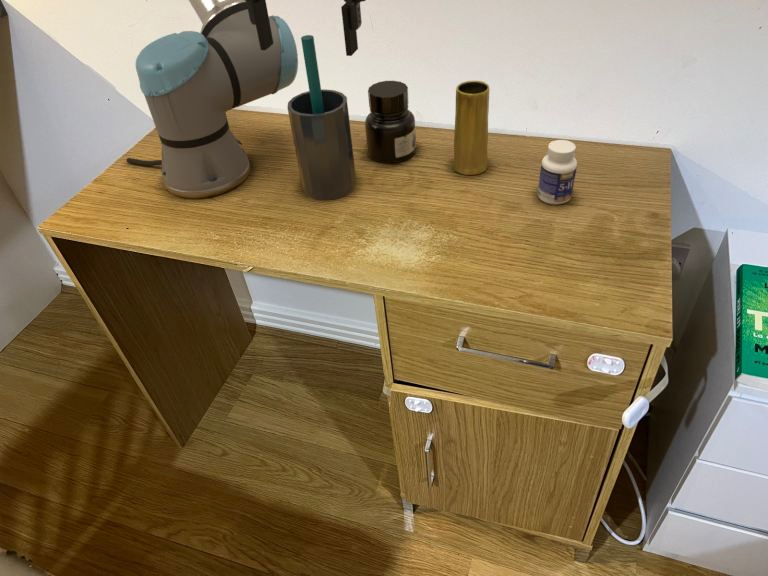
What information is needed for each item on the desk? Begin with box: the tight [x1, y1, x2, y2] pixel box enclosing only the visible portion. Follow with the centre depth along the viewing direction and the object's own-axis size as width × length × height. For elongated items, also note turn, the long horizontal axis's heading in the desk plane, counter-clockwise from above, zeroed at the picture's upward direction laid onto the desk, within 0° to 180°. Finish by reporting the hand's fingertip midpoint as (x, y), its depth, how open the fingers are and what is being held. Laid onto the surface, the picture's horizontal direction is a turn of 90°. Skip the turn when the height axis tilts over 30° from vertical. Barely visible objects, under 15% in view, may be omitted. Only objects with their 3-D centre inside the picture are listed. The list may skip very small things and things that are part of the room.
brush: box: [300, 34, 324, 114], centre depth 93 cm, size 4×4×24 cm
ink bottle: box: [364, 80, 417, 163], centre depth 104 cm, size 10×9×12 cm
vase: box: [452, 80, 490, 176], centre depth 98 cm, size 6×6×14 cm
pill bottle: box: [537, 139, 578, 205], centre depth 91 cm, size 5×5×9 cm
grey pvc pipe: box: [287, 88, 357, 201], centre depth 96 cm, size 9×9×15 cm
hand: (308, 49), depth 86 cm, fingers open, 13 cm apart
